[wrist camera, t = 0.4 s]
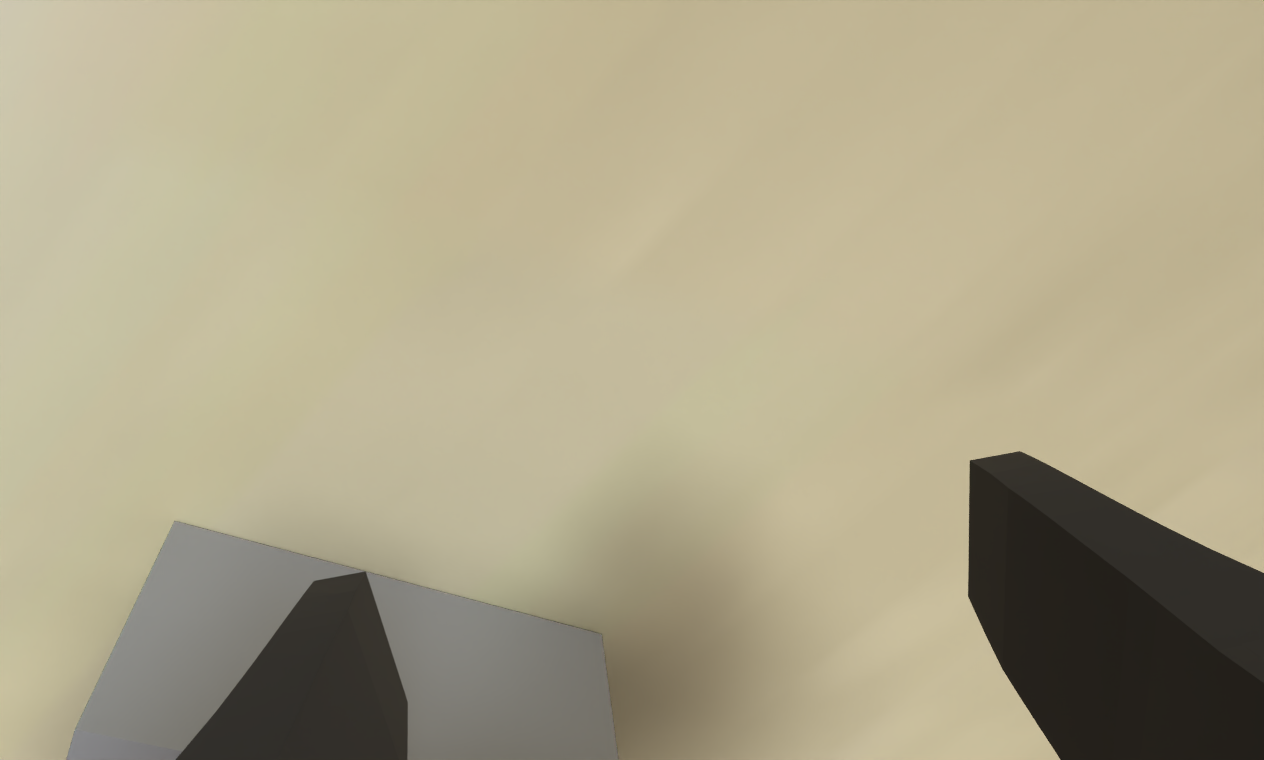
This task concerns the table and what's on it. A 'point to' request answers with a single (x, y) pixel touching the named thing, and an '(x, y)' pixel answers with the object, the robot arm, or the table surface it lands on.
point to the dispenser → (417, 634)
